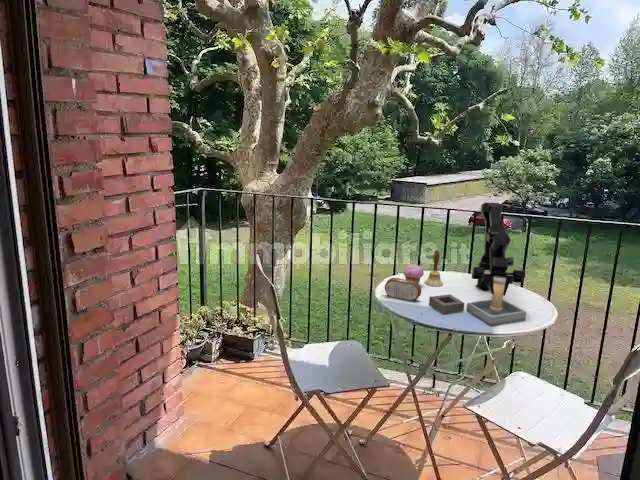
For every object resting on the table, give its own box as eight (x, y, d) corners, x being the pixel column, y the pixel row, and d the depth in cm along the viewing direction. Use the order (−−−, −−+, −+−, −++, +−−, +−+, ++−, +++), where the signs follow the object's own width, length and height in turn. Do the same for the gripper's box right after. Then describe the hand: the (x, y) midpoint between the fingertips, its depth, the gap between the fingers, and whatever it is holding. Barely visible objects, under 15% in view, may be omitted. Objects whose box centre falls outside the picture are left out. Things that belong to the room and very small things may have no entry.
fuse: (492, 306, 181) (495, 274, 177) (503, 309, 178) (507, 277, 175) (488, 310, 177) (492, 277, 174) (500, 313, 175) (504, 280, 171)
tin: (420, 300, 192) (422, 281, 190) (419, 303, 189) (420, 283, 187) (385, 294, 198) (386, 275, 196) (383, 297, 195) (384, 278, 193)
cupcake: (405, 281, 214) (407, 260, 212) (424, 284, 211) (426, 263, 208) (400, 287, 206) (401, 266, 204) (419, 290, 203) (421, 269, 200)
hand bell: (446, 283, 213) (449, 249, 209) (438, 288, 206) (441, 253, 202) (429, 279, 218) (432, 246, 214) (421, 284, 211) (423, 250, 207)
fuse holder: (449, 302, 191) (450, 294, 190) (463, 311, 182) (464, 303, 181) (428, 304, 188) (429, 296, 187) (442, 314, 179) (443, 305, 178)
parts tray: (499, 306, 187) (500, 298, 186) (525, 320, 175) (526, 311, 174) (466, 311, 182) (467, 302, 181) (490, 326, 169) (491, 317, 168)
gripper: (475, 246, 177) (475, 283, 170) (527, 250, 174) (530, 288, 166) (471, 260, 187) (471, 295, 179) (521, 264, 183) (523, 300, 175)
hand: (498, 294), depth 175 cm, fingers closed on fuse, 4 cm apart
